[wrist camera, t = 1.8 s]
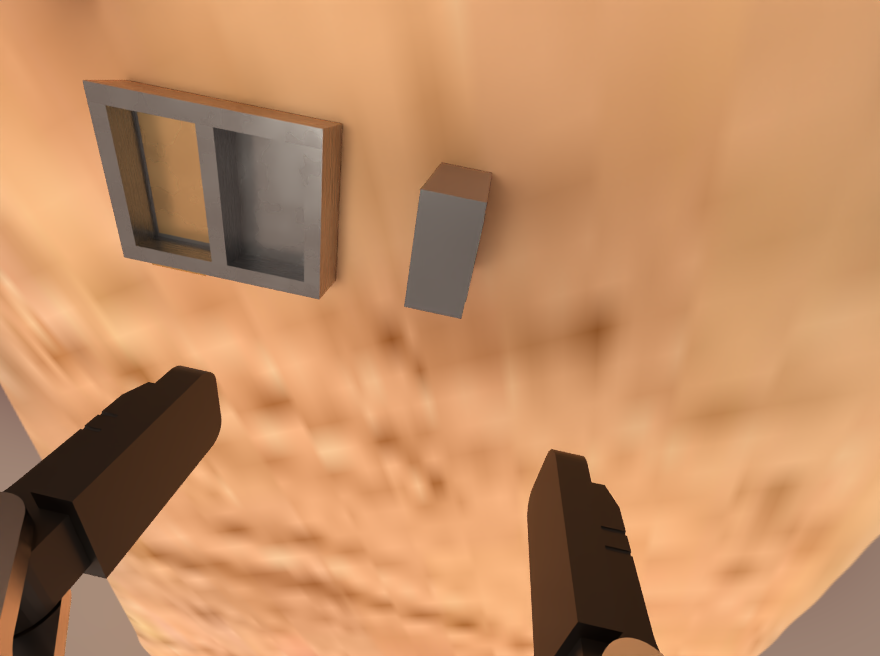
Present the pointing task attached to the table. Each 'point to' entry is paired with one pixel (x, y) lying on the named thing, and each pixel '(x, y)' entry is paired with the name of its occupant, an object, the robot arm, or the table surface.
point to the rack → (220, 185)
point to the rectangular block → (447, 239)
